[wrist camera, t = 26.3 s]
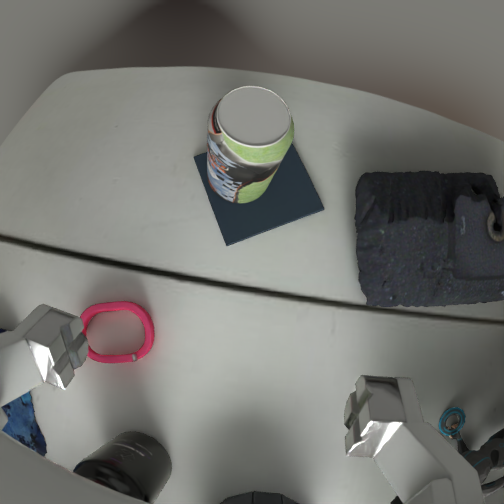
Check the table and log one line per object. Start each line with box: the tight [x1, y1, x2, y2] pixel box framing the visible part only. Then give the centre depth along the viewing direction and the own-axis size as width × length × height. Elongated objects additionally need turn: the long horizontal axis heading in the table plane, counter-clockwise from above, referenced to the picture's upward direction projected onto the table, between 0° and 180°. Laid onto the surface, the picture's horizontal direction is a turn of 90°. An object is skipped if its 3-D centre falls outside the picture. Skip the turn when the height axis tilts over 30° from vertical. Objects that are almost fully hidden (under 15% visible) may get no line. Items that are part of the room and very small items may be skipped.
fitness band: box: [80, 301, 154, 363], centre depth 28 cm, size 8×6×2 cm
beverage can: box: [207, 86, 294, 203], centre depth 25 cm, size 6×7×12 cm
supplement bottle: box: [73, 432, 172, 504], centre depth 20 cm, size 7×7×12 cm
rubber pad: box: [194, 143, 324, 246], centre depth 31 cm, size 10×10×1 cm
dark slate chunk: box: [355, 171, 504, 307], centre depth 28 cm, size 15×22×5 cm
